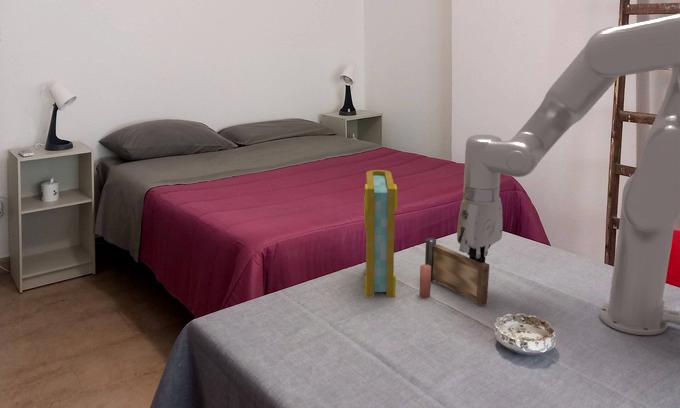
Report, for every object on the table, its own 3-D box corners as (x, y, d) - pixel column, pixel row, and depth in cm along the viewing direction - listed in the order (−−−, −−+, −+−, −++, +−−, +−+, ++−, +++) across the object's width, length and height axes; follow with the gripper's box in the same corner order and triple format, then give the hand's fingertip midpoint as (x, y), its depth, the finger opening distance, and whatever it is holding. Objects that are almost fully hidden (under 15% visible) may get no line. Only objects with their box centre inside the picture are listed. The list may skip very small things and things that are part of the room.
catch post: (431, 294, 138) (432, 265, 136) (427, 298, 136) (428, 269, 134) (421, 292, 139) (422, 263, 137) (417, 296, 137) (418, 267, 135)
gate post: (436, 278, 147) (437, 239, 144) (432, 282, 145) (433, 242, 142) (427, 276, 148) (428, 237, 145) (422, 280, 146) (424, 240, 143)
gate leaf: (486, 304, 133) (489, 264, 130) (481, 306, 132) (484, 266, 129) (436, 279, 145) (438, 242, 143) (431, 280, 145) (433, 244, 142)
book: (395, 296, 137) (397, 188, 130) (365, 296, 138) (365, 188, 130) (390, 267, 154) (392, 169, 146) (363, 267, 154) (364, 169, 146)
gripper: (470, 203, 125) (465, 286, 130) (517, 191, 133) (511, 269, 139) (443, 195, 131) (440, 275, 136) (490, 184, 139) (485, 259, 144)
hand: (476, 272), depth 137 cm, fingers closed
